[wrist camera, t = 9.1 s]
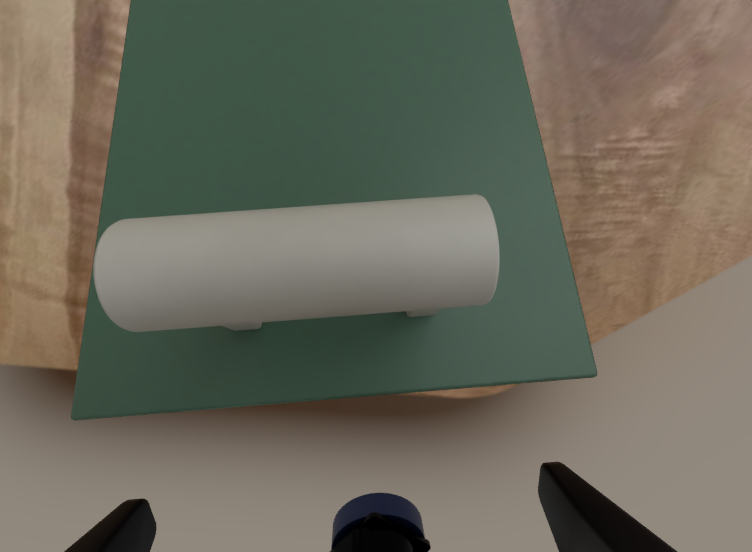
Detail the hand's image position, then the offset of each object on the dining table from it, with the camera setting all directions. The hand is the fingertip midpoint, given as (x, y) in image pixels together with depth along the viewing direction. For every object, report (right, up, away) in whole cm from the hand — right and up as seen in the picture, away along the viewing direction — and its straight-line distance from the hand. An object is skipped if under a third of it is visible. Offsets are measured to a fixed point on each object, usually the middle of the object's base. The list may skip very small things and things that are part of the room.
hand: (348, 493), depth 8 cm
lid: (-1, +8, +2) cm, 8 cm away
